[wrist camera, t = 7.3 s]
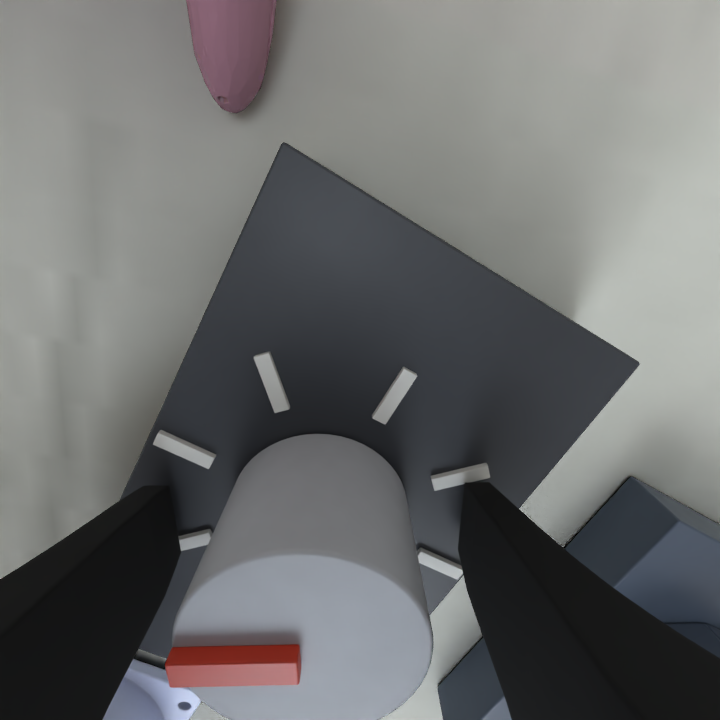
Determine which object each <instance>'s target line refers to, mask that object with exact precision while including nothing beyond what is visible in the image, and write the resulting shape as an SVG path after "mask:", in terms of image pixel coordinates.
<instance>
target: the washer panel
mask: <svg viewBox="0 0 720 720" xmlns="http://www.w3.org/2000/svg"><path fill="white" fill-rule="evenodd" d="M639 364H640V363H639V362H638V361H637V360H635V359H633V358H632V357H630V356H629V355H627V354H625V353H624V352H622V351H620V350H619V349H617V348H616V347H614V346H612V345H611V344H609V343H608V342H606V341H604V340H603V339H601V338H600V337H598V336H596V335H595V334H593V333H591V332H590V331H588V330H587V329H585V328H583V327H582V326H580V325H579V324H577V323H575V322H574V321H572V320H571V319H569V318H567V317H566V316H564V315H562V314H561V313H559V312H558V311H556V310H554V309H553V308H551V307H550V306H548V305H546V304H545V303H543V302H542V301H540V300H538V299H537V298H535V297H533V296H532V295H530V294H529V293H527V292H525V291H524V290H522V289H521V288H519V287H517V286H516V285H514V284H513V283H511V282H509V281H508V280H506V279H504V278H503V277H501V276H500V275H498V274H496V273H495V272H493V271H492V270H490V269H488V268H487V267H485V266H484V265H482V264H480V263H479V262H477V261H475V260H474V259H472V258H471V257H469V256H467V255H466V254H464V253H463V252H461V251H459V250H458V249H456V248H455V247H453V246H451V245H450V244H448V243H446V242H445V241H443V240H442V239H440V238H438V237H437V236H435V235H434V234H432V233H430V232H429V231H427V230H426V229H424V228H422V227H421V226H419V225H417V224H416V223H414V222H413V221H411V220H409V219H408V218H406V217H405V216H403V215H401V214H400V213H398V212H397V211H395V210H393V209H392V208H390V207H388V206H387V205H385V204H384V203H382V202H380V201H379V200H377V199H376V198H374V197H372V196H371V195H369V194H368V193H366V192H364V191H363V190H361V189H359V188H358V187H356V186H355V185H353V184H351V183H350V182H348V181H347V180H345V179H343V178H342V177H340V176H339V175H337V174H335V173H334V172H332V171H330V170H329V169H327V168H326V167H324V166H322V165H321V164H319V163H318V162H316V161H314V160H313V159H311V158H310V157H308V156H306V155H305V154H303V153H301V152H300V151H298V150H297V149H295V148H293V147H292V146H290V145H289V144H287V143H284V142H283V143H282V144H281V146H280V148H279V150H278V152H277V155H276V157H275V159H274V161H273V163H272V166H271V168H270V170H269V172H268V174H267V177H266V179H265V181H264V183H263V185H262V188H261V190H260V192H259V194H258V196H257V199H256V201H255V203H254V205H253V207H252V210H251V212H250V214H249V216H248V219H247V221H246V223H245V225H244V227H243V230H242V232H241V234H240V236H239V238H238V241H237V243H236V245H235V247H234V249H233V252H232V254H231V256H230V258H229V260H228V263H227V265H226V267H225V269H224V271H223V274H222V276H221V278H220V280H219V282H218V285H217V287H216V289H215V291H214V293H213V296H212V298H211V300H210V302H209V304H208V307H207V309H206V311H205V313H204V315H203V318H202V320H201V322H200V324H199V326H198V329H197V331H196V333H195V335H194V337H193V340H192V342H191V344H190V346H189V348H188V351H187V353H186V355H185V357H184V359H183V362H182V364H181V366H180V368H179V370H178V373H177V375H176V377H175V379H174V381H173V384H172V386H171V388H170V390H169V392H168V395H167V397H166V399H165V401H164V403H163V406H162V408H161V410H160V412H159V414H158V417H157V419H156V421H155V423H154V425H153V428H152V430H151V432H150V434H149V437H148V439H147V441H146V443H145V445H144V448H143V450H142V452H141V454H140V456H139V459H138V461H137V463H136V465H135V467H134V470H133V472H132V474H131V476H130V478H129V481H128V483H127V485H126V487H125V489H124V492H123V494H122V496H121V498H120V500H122V499H123V498H125V497H126V496H128V495H129V494H131V493H132V492H134V491H135V490H137V489H139V488H141V487H142V486H148V485H169V488H170V494H171V499H172V505H173V510H174V515H175V521H176V526H177V532H178V537H179V543H180V548H181V554H180V557H179V560H178V563H177V566H176V568H175V571H174V574H173V577H172V579H171V582H170V585H169V587H168V590H167V592H166V595H165V597H164V599H163V601H162V603H161V605H160V607H159V609H158V611H157V613H156V615H155V617H154V619H153V621H152V623H151V625H150V627H149V629H148V631H147V633H146V635H145V637H144V639H143V641H142V643H141V645H140V647H139V649H141V650H144V651H147V652H150V653H152V654H155V655H158V656H161V657H164V658H168V655H169V653H170V651H171V648H172V633H173V625H174V621H175V617H176V615H177V612H178V610H179V608H180V606H181V603H182V601H183V599H184V597H185V594H186V592H187V590H188V588H189V586H190V583H191V581H192V579H193V577H194V574H195V572H196V570H197V568H198V566H199V563H200V561H201V559H202V557H203V554H204V552H205V550H206V548H207V546H208V543H209V541H210V539H211V537H212V534H213V532H214V530H215V528H216V525H217V523H218V521H219V519H220V517H221V514H222V512H223V510H224V508H225V505H226V503H227V501H228V499H229V497H230V494H231V492H232V490H233V488H234V485H235V483H236V481H237V479H238V477H239V475H240V473H241V472H242V470H243V469H244V467H245V466H246V465H247V464H248V463H249V461H250V460H251V459H252V458H253V457H255V456H256V455H257V454H258V453H259V452H261V451H262V450H264V449H266V448H267V447H269V446H270V445H273V444H275V443H277V442H279V441H281V440H284V439H287V438H291V437H294V436H300V435H306V434H330V435H336V436H342V437H345V438H349V439H352V440H355V441H357V442H359V443H362V444H364V445H366V446H367V447H369V448H371V449H373V450H374V451H375V452H377V453H378V454H379V455H381V456H382V457H383V458H384V459H385V460H386V461H387V462H388V463H389V464H390V465H391V466H392V468H393V469H394V470H395V472H396V473H397V475H398V476H399V478H400V480H401V482H402V484H403V487H404V490H405V494H406V498H407V504H408V509H409V514H410V519H411V524H412V529H413V534H414V540H415V545H416V550H417V555H418V560H419V565H420V570H421V576H422V581H423V586H424V591H425V596H426V601H427V606H428V612H429V615H430V614H431V613H432V612H433V611H434V609H435V608H436V607H437V606H438V605H439V603H440V602H441V601H442V600H443V599H444V597H445V596H446V595H447V594H448V593H449V591H450V590H451V589H452V588H453V587H454V586H455V584H456V583H457V582H458V581H459V580H460V578H461V577H462V576H463V570H462V566H461V561H460V557H459V552H458V542H459V532H460V522H461V512H462V502H463V493H464V483H465V482H490V483H491V484H492V485H493V486H494V487H495V488H496V489H498V490H499V491H500V492H501V493H502V494H503V495H504V496H505V497H506V498H507V499H508V500H510V501H511V502H512V503H513V504H514V505H515V506H516V507H517V508H518V509H519V508H520V507H521V506H522V504H523V503H524V502H525V501H526V500H527V498H528V497H529V496H530V495H531V494H532V492H533V491H534V490H535V489H536V488H537V486H538V485H539V484H540V483H541V482H542V481H543V479H544V478H545V477H546V476H547V475H548V473H549V472H550V471H551V470H552V469H553V467H554V466H555V465H556V464H557V463H558V461H559V460H560V459H561V458H562V457H563V455H564V454H565V453H566V452H567V451H568V449H569V448H570V447H571V446H572V445H573V444H574V442H575V441H576V440H577V439H578V438H579V436H580V435H581V434H582V433H583V432H584V430H585V429H586V428H587V427H588V426H589V424H590V423H591V422H592V421H593V420H594V418H595V417H596V416H597V415H598V414H599V413H600V411H601V410H602V409H603V408H604V407H605V405H606V404H607V403H608V402H609V401H610V399H611V398H612V397H613V396H614V395H615V393H616V392H617V391H618V390H619V389H620V387H621V386H622V385H623V384H624V383H625V381H626V380H627V379H628V378H629V377H630V376H631V374H632V373H633V372H634V371H635V370H636V368H637V367H638V366H639ZM120 500H119V501H120Z"/></svg>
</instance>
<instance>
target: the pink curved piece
mask: <svg viewBox="0 0 720 720" xmlns="http://www.w3.org/2000/svg"><path fill="white" fill-rule="evenodd" d="M186 1H187V7H188V14H189V20H190V27H191V34H192V40H193V47H194V54H195V56H196V59H197V62H198V65H199V67H200V70H201V73H202V76H203V78H204V81H205V84H206V85H207V87H208V89H209V91H210V93H211V94H212V96H213V98H214V99H215V101H216V102H217V103H218V104H219V106H220V107H221V108H222V109H224V110H226V111H228V112H232V113H238V112H240V111H242V110H244V109H245V108H246V107H247V106H248V105H249V104H250V102H251V101H252V100H253V99H254V97H255V95H256V94H257V93H258V91H259V90H260V88H261V85H262V81H263V78H264V75H265V70H266V66H267V62H268V57H269V52H270V46H271V41H272V36H273V28H274V19H275V10H276V2H277V0H186Z"/></svg>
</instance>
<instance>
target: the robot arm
mask: <svg viewBox="0 0 720 720" xmlns="http://www.w3.org/2000/svg"><path fill="white" fill-rule="evenodd" d="M458 552H459V557H460V561H461V566H462V570H463V575H464V579H465V583H466V587H467V591H468V594H469V597H470V600H471V603H472V606H473V609H474V612H475V615H476V617H477V620H478V623H479V626H480V629H481V632H482V635H483V637H484V640H485V643H486V646H487V649H488V651H489V654H490V657H491V660H492V663H493V666H494V668H495V671H496V674H497V677H498V680H499V683H500V685H501V688H502V691H503V694H504V697H505V700H506V703H507V706H508V709H509V712H510V716H511V719H512V720H720V658H719V657H717V656H716V655H714V654H712V653H711V652H709V651H707V650H706V649H704V648H703V647H701V646H699V645H698V644H696V643H695V642H693V641H691V640H690V639H688V638H686V637H685V636H683V635H682V634H680V633H679V632H677V631H676V630H674V629H672V628H671V627H669V626H668V625H666V624H665V623H663V622H662V621H660V620H659V619H657V618H656V617H654V616H653V615H652V614H650V613H649V612H647V611H646V610H644V609H643V608H642V607H640V606H639V605H637V604H636V603H634V602H633V601H631V600H630V599H629V598H627V597H626V596H624V595H623V594H621V593H620V592H619V591H617V590H616V589H615V588H613V587H612V586H611V585H609V584H608V583H607V582H605V581H604V580H603V579H601V578H600V577H599V576H597V575H596V574H595V573H594V572H592V571H591V570H590V569H589V568H587V567H586V566H585V565H583V564H582V563H581V562H580V561H578V560H577V559H576V558H575V557H573V556H572V555H571V554H570V553H569V552H567V551H566V550H565V549H564V548H563V547H561V546H560V545H559V544H558V543H557V542H555V541H554V540H553V539H552V538H551V537H550V536H548V535H547V534H546V533H545V532H544V531H543V530H542V529H540V528H539V527H538V526H537V525H536V524H535V523H534V522H533V521H531V520H530V519H529V518H528V517H527V516H526V515H525V514H524V513H523V512H522V511H520V510H519V509H518V508H517V507H516V506H515V505H514V504H513V503H512V502H511V501H510V500H508V499H507V498H506V497H505V496H504V495H503V494H502V493H501V492H500V491H499V490H498V489H496V488H495V487H494V486H493V485H492V484H491V483H490V482H465V483H464V493H463V502H462V512H461V522H460V532H459V542H458ZM180 554H181V548H180V543H179V537H178V532H177V526H176V521H175V515H174V510H173V505H172V499H171V494H170V488H169V485H148V486H142V487H141V488H139V489H137V490H135V491H134V492H132V493H131V494H129V495H128V496H126V497H125V498H123V499H122V500H120V501H119V502H117V503H116V504H114V505H113V506H111V507H110V508H108V509H107V510H105V511H104V512H102V513H101V514H100V515H98V516H97V517H95V518H94V519H92V520H91V521H89V522H88V523H86V524H85V525H83V526H82V527H80V528H79V529H77V530H76V531H75V532H73V533H72V534H70V535H69V536H67V537H66V538H64V539H63V540H61V541H60V542H58V543H57V544H55V545H54V546H52V547H51V548H49V549H48V550H46V551H44V552H43V553H41V554H40V555H38V556H37V557H35V558H33V559H32V560H30V561H29V562H27V563H26V564H24V565H22V566H21V567H19V568H18V569H16V570H14V571H13V572H11V573H10V574H8V575H7V576H5V577H3V578H2V579H0V720H189V719H190V718H191V716H192V715H193V713H194V712H195V710H196V709H197V707H198V706H199V704H200V703H201V700H200V699H199V698H198V697H197V696H196V695H195V694H194V693H193V692H192V691H191V689H190V688H189V687H182V688H171V687H170V686H169V681H168V677H167V673H166V670H164V669H161V668H158V667H155V666H152V665H149V664H146V663H143V662H141V661H138V660H135V659H133V658H134V656H135V654H136V652H137V651H138V649H139V647H140V645H141V643H142V641H143V639H144V637H145V635H146V633H147V631H148V629H149V627H150V625H151V623H152V621H153V619H154V617H155V615H156V613H157V611H158V609H159V607H160V605H161V603H162V601H163V599H164V597H165V595H166V592H167V590H168V587H169V585H170V582H171V579H172V577H173V574H174V571H175V568H176V566H177V563H178V560H179V557H180Z"/></svg>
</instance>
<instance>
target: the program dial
mask: <svg viewBox="0 0 720 720" xmlns="http://www.w3.org/2000/svg"><path fill="white" fill-rule="evenodd" d="M432 652H433V632H432V627H431V622H430V617H429V612H428V606H427V601H426V596H425V591H424V586H423V581H422V576H421V570H420V565H419V560H418V555H417V550H416V545H415V540H414V534H413V529H412V524H411V519H410V514H409V509H408V504H407V498H406V494H405V490H404V487H403V484H402V482H401V480H400V478H399V476H398V475H397V473H396V472H395V470H394V469H393V468H392V466H391V465H390V464H389V463H388V462H387V461H386V460H385V459H384V458H383V457H382V456H381V455H379V454H378V453H377V452H375V451H374V450H373V449H371V448H369V447H367V446H366V445H364V444H362V443H359V442H357V441H355V440H352V439H349V438H345V437H342V436H336V435H330V434H306V435H300V436H294V437H291V438H287V439H284V440H281V441H279V442H277V443H275V444H273V445H270V446H269V447H267V448H266V449H264V450H262V451H261V452H259V453H258V454H257V455H256V456H255V457H253V458H252V459H251V460H250V461H249V463H248V464H247V465H246V466H245V467H244V469H243V470H242V472H241V473H240V475H239V477H238V479H237V481H236V483H235V485H234V488H233V490H232V492H231V494H230V497H229V499H228V501H227V503H226V505H225V508H224V510H223V512H222V514H221V517H220V519H219V521H218V523H217V525H216V528H215V530H214V532H213V534H212V537H211V539H210V541H209V543H208V546H207V548H206V550H205V552H204V554H203V557H202V559H201V561H200V563H199V566H198V568H197V570H196V572H195V574H194V577H193V579H192V581H191V583H190V586H189V588H188V590H187V592H186V594H185V597H184V599H183V601H182V603H181V606H180V608H179V610H178V612H177V615H176V617H175V621H174V625H173V633H172V648H171V651H170V653H169V655H168V658H167V660H166V662H165V669H166V673H167V677H168V681H169V686H170V687H171V688H182V687H189V688H190V689H191V691H192V692H193V693H194V694H195V695H196V696H197V697H198V698H199V699H200V700H201V701H203V702H204V703H205V704H206V705H208V706H209V707H210V708H211V709H213V710H215V711H216V712H218V713H219V714H221V715H222V716H224V717H226V718H228V719H230V720H379V719H381V718H383V717H385V716H386V715H388V714H390V713H392V712H393V711H394V710H396V709H397V708H398V707H400V706H401V705H402V704H404V703H405V702H406V701H407V700H408V699H409V698H410V697H411V696H412V695H413V694H414V692H415V691H416V690H417V689H418V687H419V686H420V685H421V683H422V681H423V679H424V678H425V676H426V674H427V671H428V668H429V666H430V663H431V658H432Z"/></svg>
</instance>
